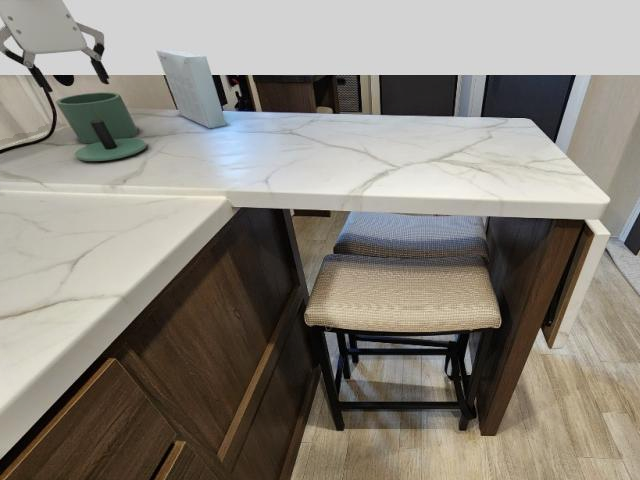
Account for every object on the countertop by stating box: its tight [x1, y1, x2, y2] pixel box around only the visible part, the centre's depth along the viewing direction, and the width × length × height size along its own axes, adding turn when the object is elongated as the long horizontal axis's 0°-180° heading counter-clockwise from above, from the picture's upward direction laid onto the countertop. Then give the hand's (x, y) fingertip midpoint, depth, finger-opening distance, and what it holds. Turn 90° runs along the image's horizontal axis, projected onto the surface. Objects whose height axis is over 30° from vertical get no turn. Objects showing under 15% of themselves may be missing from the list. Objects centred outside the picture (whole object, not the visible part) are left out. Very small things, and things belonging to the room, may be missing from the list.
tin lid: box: [74, 120, 147, 162], centre depth 74 cm, size 14×14×7 cm
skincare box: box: [156, 49, 227, 129], centre depth 91 cm, size 21×6×16 cm, turn 47°
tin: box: [55, 91, 139, 145], centre depth 82 cm, size 13×13×8 cm
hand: (78, 87), depth 68 cm, fingers open, 9 cm apart
